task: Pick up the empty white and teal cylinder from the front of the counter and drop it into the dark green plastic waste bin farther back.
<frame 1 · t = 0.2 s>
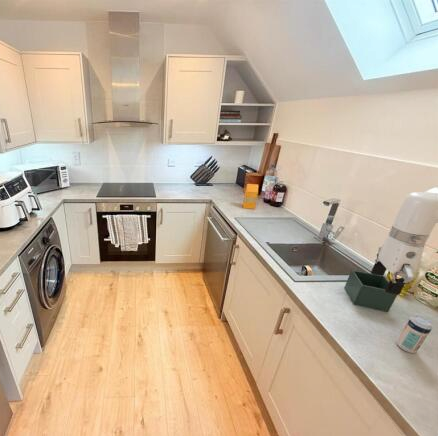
hand: (383, 283, 75), 22 cm above the worktop, tool pointing down, fingers open, 9 cm apart
waste bin: (364, 299, 99), on the worktop
white and teal cylinder: (405, 347, 79), on the worktop
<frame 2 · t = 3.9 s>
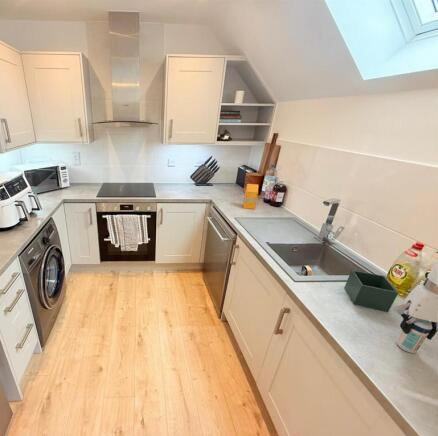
hand: (414, 332, 76), 7 cm above the worktop, tool pointing down, fingers closed on white and teal cylinder, 4 cm apart
white and teal cylinder: (405, 347, 79), on the worktop, touching gripper
when the fingers open (14 cm above the worktop, at t = 10.5 s): white and teal cylinder drops 6 cm, resting on waste bin.
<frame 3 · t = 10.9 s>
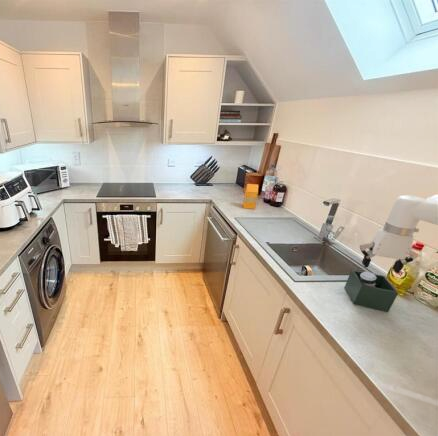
hand: (379, 268, 93), 16 cm above the worktop, tool pointing down, fingers open, 9 cm apart
white and teal cylinder: (365, 297, 99), point 1 cm above the worktop, touching waste bin
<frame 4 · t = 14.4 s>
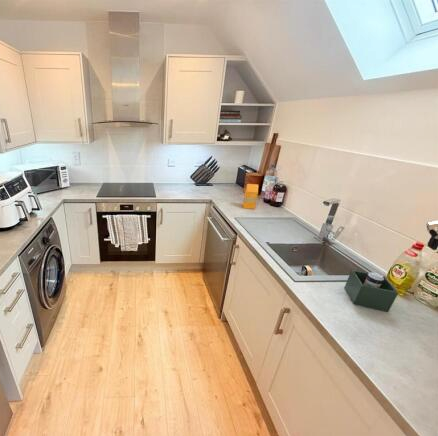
at the end: white and teal cylinder inside the target area in the waste bin (0.1 cm from its centre), point 0.5 cm above the waste bin's base; the gripper is holding nothing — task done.
